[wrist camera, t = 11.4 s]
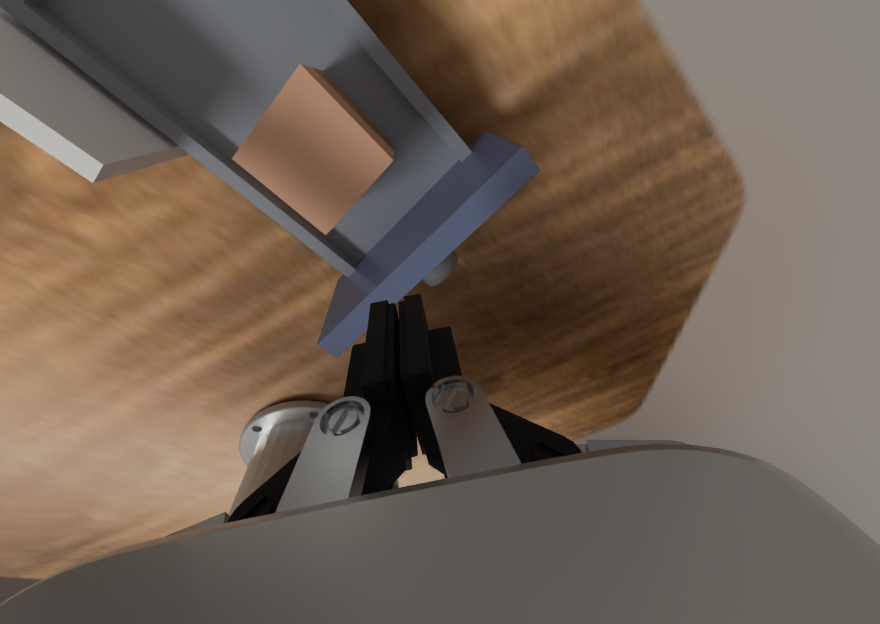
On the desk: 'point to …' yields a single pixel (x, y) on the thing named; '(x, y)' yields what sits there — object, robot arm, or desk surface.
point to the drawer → (72, 110)
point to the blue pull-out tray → (254, 89)
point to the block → (315, 149)
